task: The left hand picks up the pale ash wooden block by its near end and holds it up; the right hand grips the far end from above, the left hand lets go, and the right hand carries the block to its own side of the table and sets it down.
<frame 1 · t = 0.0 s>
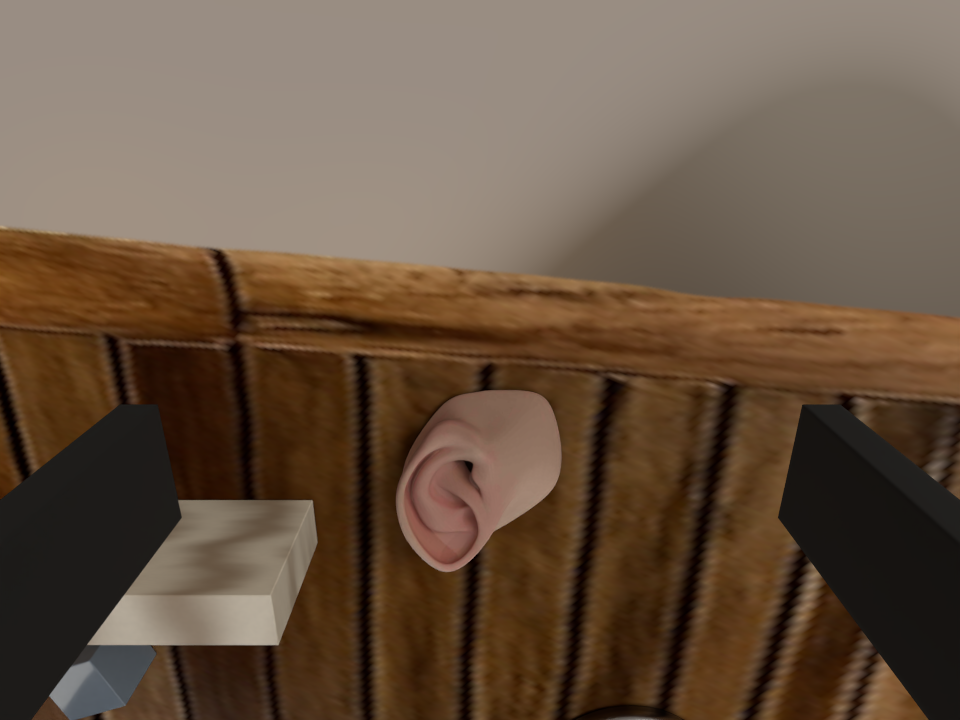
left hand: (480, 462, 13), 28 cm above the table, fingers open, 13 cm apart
slate cube: (115, 640, 51), on the table
ash block: (159, 521, 47), on the table
anatomical model: (479, 463, 45), on the table
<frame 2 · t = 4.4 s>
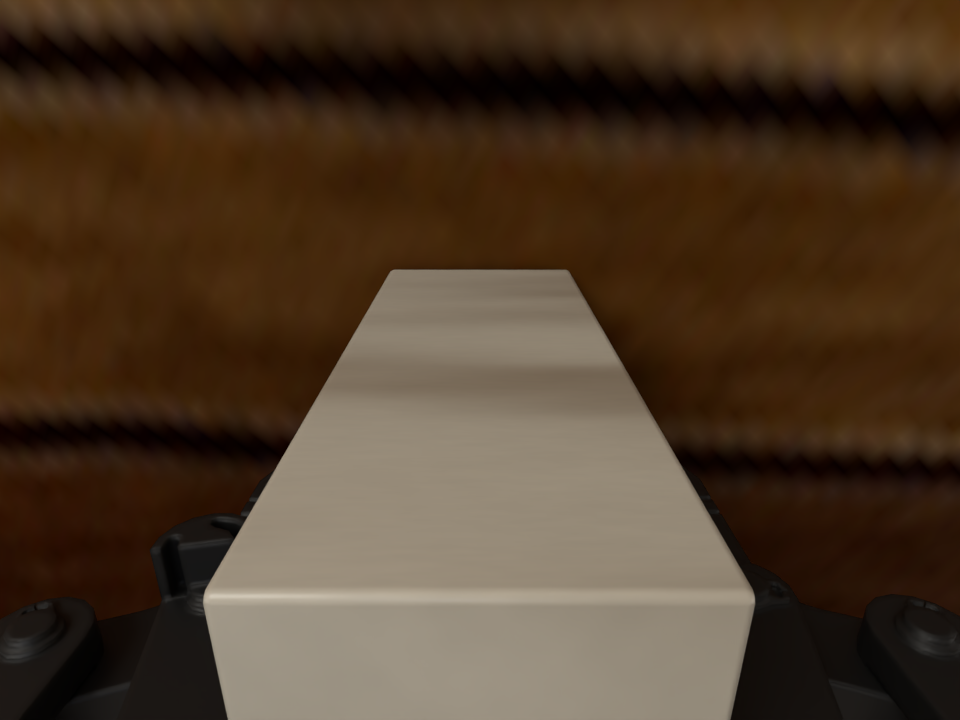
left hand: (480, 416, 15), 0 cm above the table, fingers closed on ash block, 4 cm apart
ash block: (479, 668, 18), on the table, touching left hand
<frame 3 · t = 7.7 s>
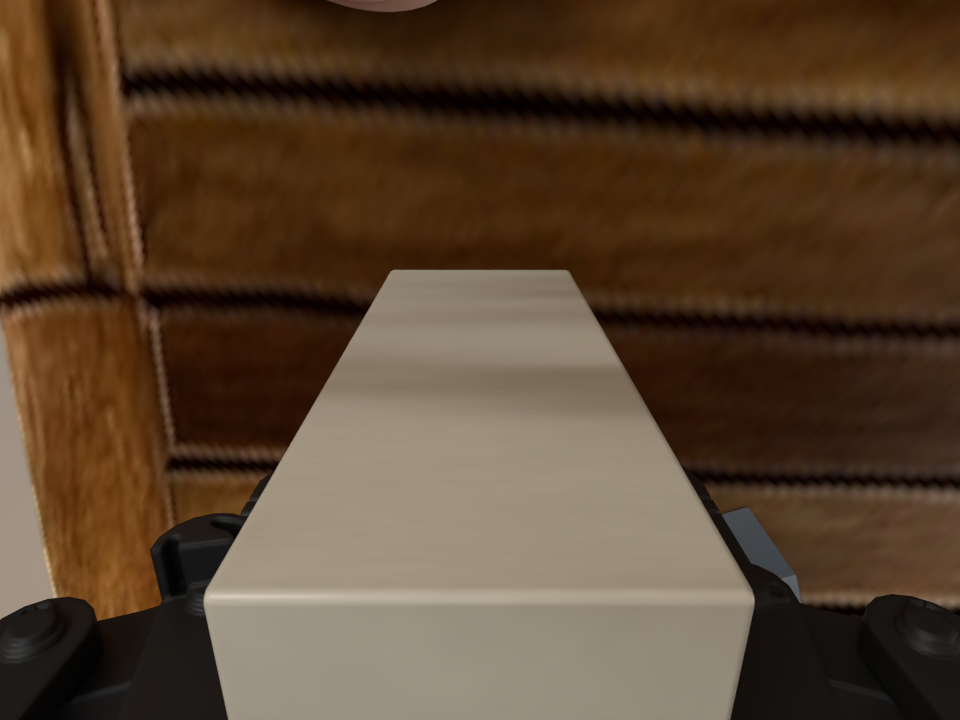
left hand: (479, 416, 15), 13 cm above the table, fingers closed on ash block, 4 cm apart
slate cube: (709, 557, 32), on the table
ash block: (479, 668, 18), point 12 cm above the table, touching left hand
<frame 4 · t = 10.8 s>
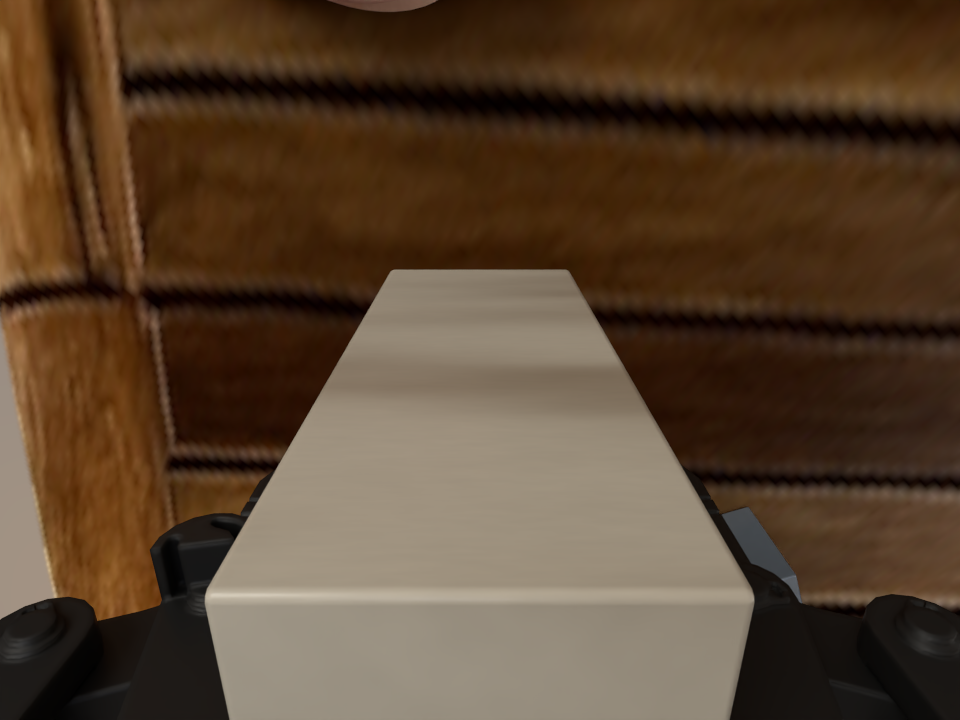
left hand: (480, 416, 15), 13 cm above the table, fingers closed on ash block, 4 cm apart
slate cube: (709, 557, 32), on the table
ash block: (479, 668, 18), point 12 cm above the table, touching left hand, right hand
when the left hand's fingers open (13 cm above the table, at t = 11.5 s): ash block stays where it is, held by the right hand.
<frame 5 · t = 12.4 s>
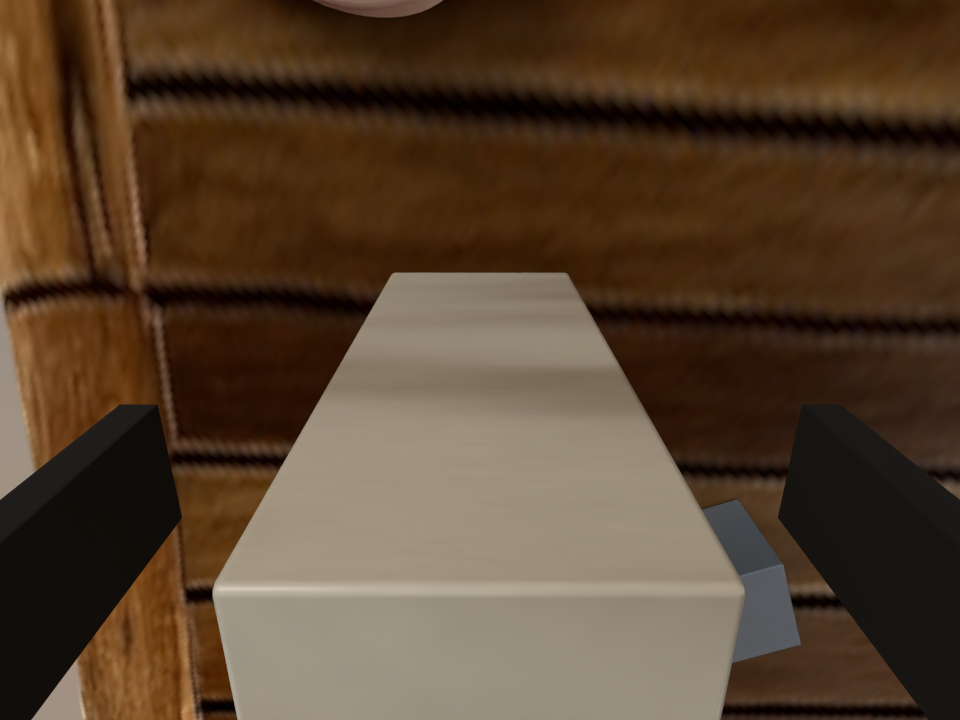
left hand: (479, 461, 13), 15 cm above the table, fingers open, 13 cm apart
slate cube: (700, 549, 32), on the table
ash block: (479, 668, 18), point 13 cm above the table, touching right hand
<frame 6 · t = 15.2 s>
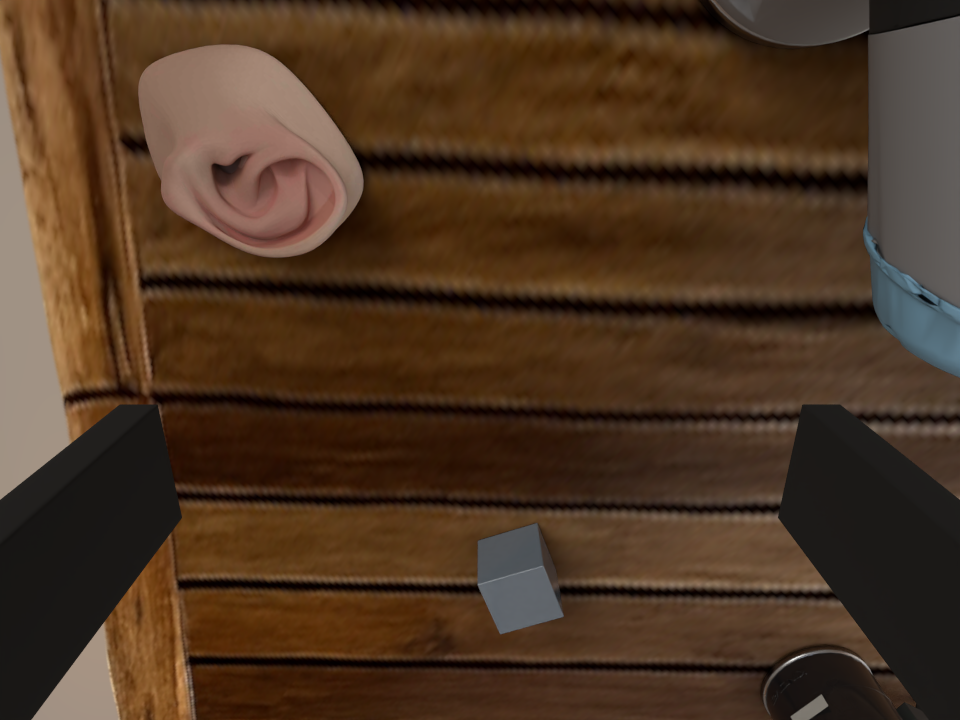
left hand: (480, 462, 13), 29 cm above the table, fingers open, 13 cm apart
slate cube: (517, 555, 49), on the table
anatomical model: (250, 153, 38), on the table
when the right hand's fingers open (7 cm above the table, at t = 19.6 s): ash block drops 1 cm, on the table.
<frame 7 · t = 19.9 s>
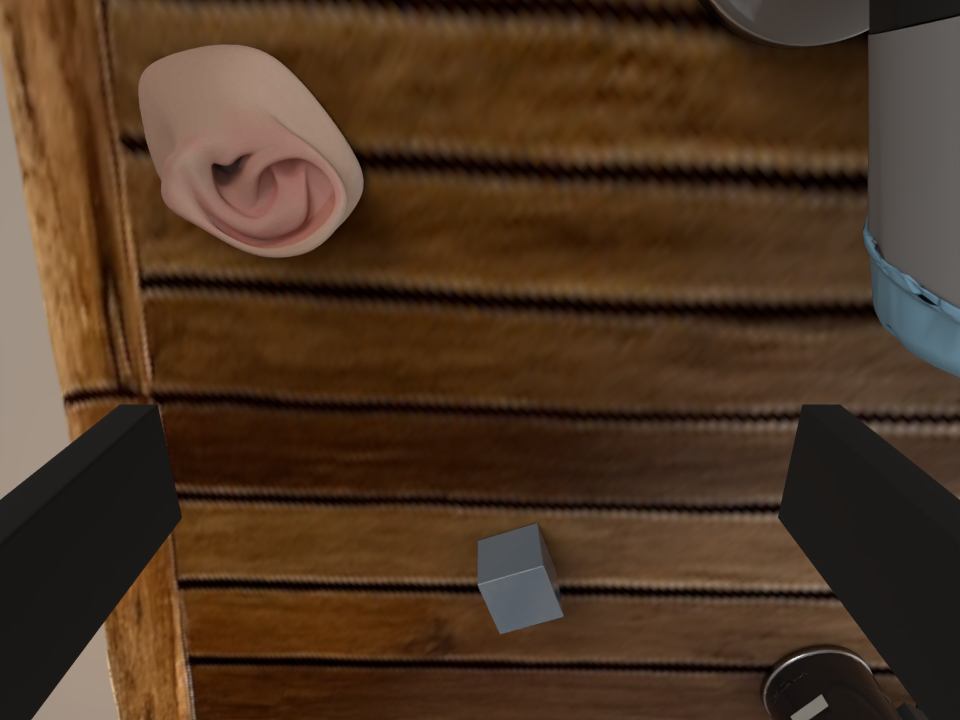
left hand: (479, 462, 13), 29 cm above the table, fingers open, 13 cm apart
slate cube: (517, 555, 49), on the table
anatomical model: (250, 153, 38), on the table
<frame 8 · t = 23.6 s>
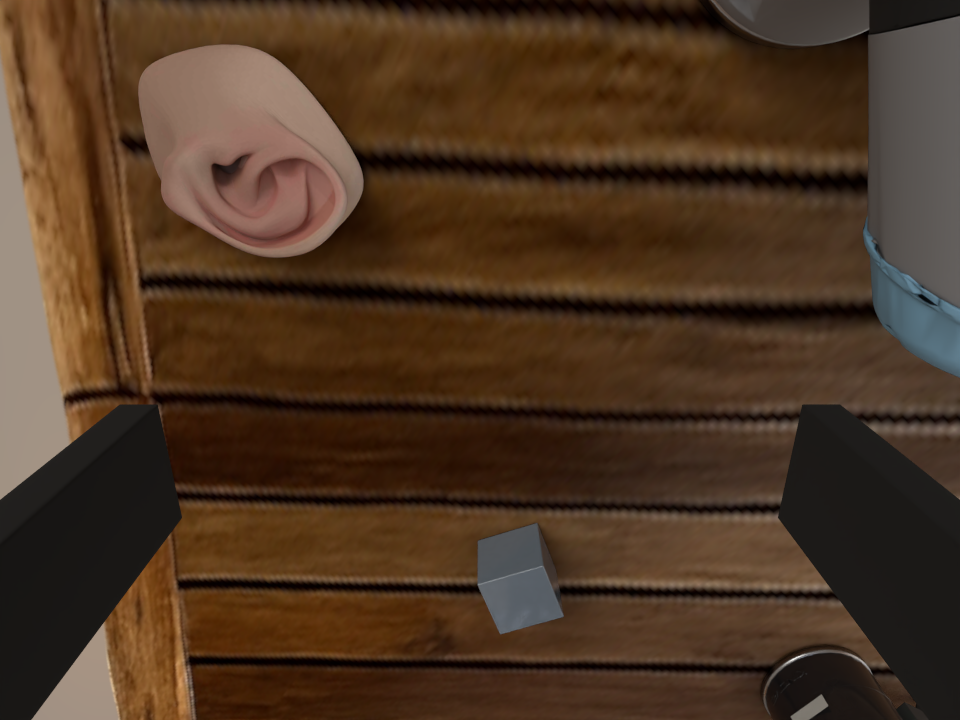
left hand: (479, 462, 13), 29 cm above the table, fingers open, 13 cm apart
slate cube: (517, 555, 49), on the table
anatomical model: (250, 153, 38), on the table
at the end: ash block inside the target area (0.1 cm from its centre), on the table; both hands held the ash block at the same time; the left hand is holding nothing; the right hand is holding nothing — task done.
